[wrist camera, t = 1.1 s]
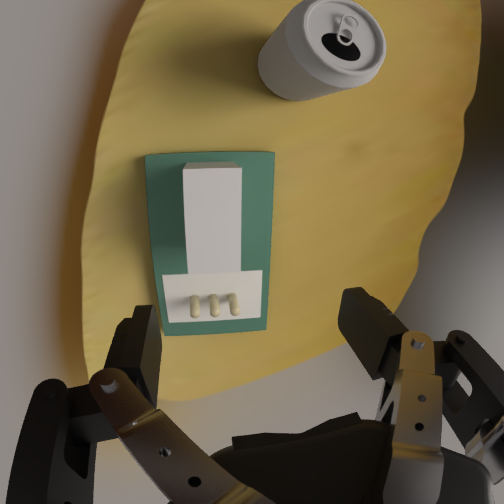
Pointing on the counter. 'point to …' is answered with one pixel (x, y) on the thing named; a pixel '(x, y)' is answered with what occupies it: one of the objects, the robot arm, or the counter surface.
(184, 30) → the counter surface
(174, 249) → the board
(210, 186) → the block
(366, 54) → the can
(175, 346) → the counter surface
